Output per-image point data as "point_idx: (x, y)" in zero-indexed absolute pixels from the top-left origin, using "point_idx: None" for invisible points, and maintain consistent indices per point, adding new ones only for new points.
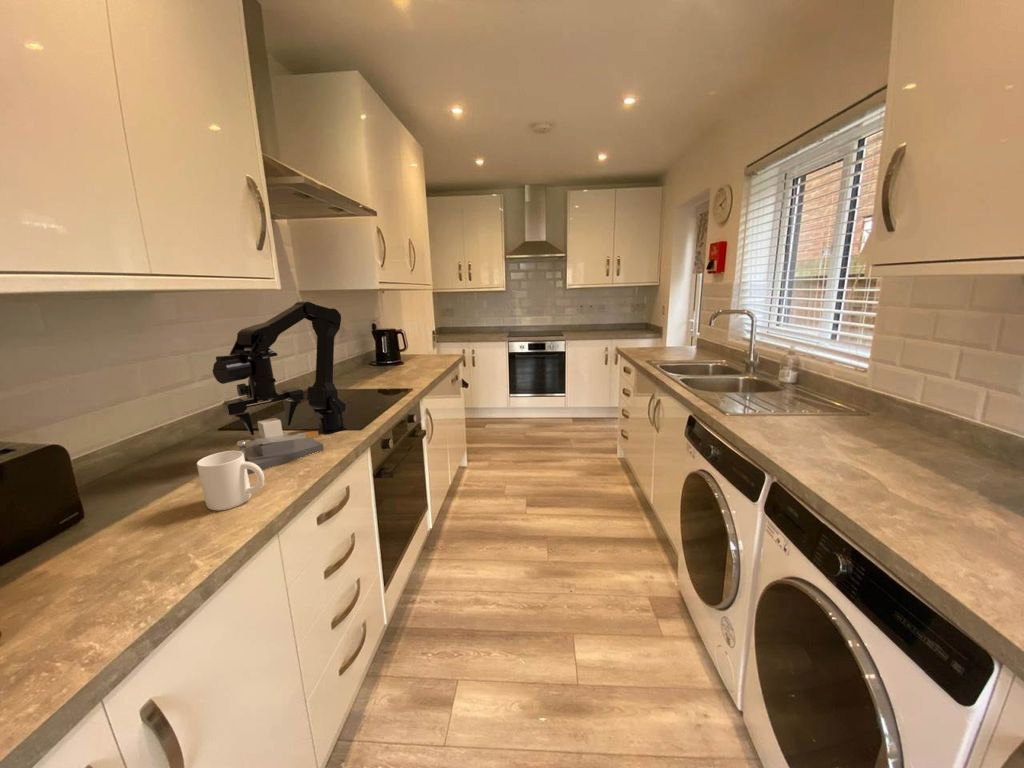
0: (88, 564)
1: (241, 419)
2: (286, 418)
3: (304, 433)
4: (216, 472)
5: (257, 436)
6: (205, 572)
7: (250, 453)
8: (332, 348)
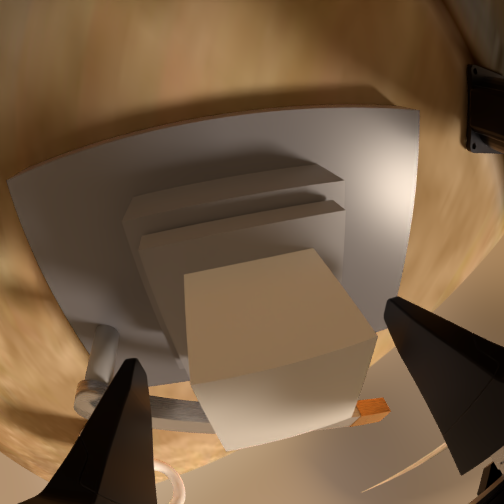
0: (13, 445)
1: (66, 479)
2: (417, 343)
3: (351, 423)
4: None
5: (165, 268)
6: None
7: (120, 264)
8: None
